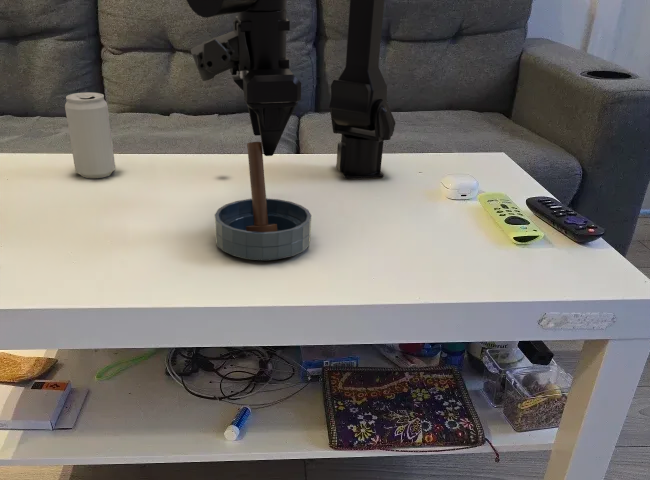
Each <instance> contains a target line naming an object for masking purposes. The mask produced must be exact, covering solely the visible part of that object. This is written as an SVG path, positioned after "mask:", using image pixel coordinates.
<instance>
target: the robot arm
mask: <svg viewBox="0 0 650 480" xmlns="http://www.w3.org/2000/svg"><path fill="white" fill-rule="evenodd" d="M186 2H187V4H188V7H189V8H190V9H191V10H192V12H194V13H195V14H196V15H197V16H199V17H202V18H204V19H205V18H207V19H208V18H214V17H219V16H225V15H233V14H237V15H235V19H233V22H232V24H233V27H232V28H233V30H232V31H229V32H226V33H224V34H221V35H219V36H216V37H212V39H210V40H209V39H208V40H207V41H206V40H204V41H202V43H200V44H198V45H196V46H193V47H192V48H191V49H190V53H191V55H192V58H193V61H194V63H195V65H196V69H197V71H198V74H199V76H200V78H201V80H202V82H207V81H209V80H212V79H214V78H215V76H217V75H219V74H222V73H224V72H227V71H228V70H229V72H230V74H231V75H232V76H231V78H232V80H233V82H234V84H236V85H237V86H238V87H239V88H240V89H241V91H243V97H244V98H243V100H244V102H245V104H246V105H247V110H248V114H249V120H250V123H251V129H252V133H253V135H254V136H256V137H258V136H260V142H262V153H263V156H265V157H273V156H274V154H275V152H276V150H277V148H278V145H279V143H280V140H281V138H282V136H283V134H284V132H285V130H286V126H287V125H288V122H289V120H290V119H291V116H292V114H293V113H294V110H295V108H296V107H297V106H298V103H299V101H302V82H301V81H300V80H299V79H298V78H297V77H296V75H295V74H294V72H292V71H291V70H290V59H289V58H288V57H287V31H290V29H291V28H290V27H291V26H290V25H291V21H290V20H289V19H288V18H287V13H288V11H287V10H288V9H287V7H288V5H287V4H288V3H287V2H288V1H287V0H186ZM384 10H385V0H349V8H348V25H347V39H346V55H345V64H344V65H345V66H344V69H343V70H342V71H341V73H340V74H339V77H338V78H337V79H333V80H332V82H331V85H330V102H329V106H328V108H329V112H330V118H331V119H330V120H331V128H332V134H336V135H337V134H340V135H341V137H340V142H338V143H337V148H336V149H337V151H336V166H335V168H336V169H337V170H338V172H339V173H340V174H341V176H342V177H343V179H345V180H357V179H358V180H360V179H380V178H381V179H382V178H384V176H385V174H384V173H383V172H382V171H381V169H382V161H383V151H384V141H390V140H391V139H392V137H393V135H394V133H395V127H396V121H395V118H394V116H393V113H392V111H391V108H390V106H389V104H388V85H387V83H386V81H385V78H384V75H383V74H382V71H381V69H380V67H379V66H380V54H381V53H380V52H381V43H382V42H381V41H382V31H383V20H384Z"/></svg>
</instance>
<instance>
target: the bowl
mask: <svg viewBox="0 0 650 480" xmlns="http://www.w3.org/2000/svg"><path fill="white" fill-rule="evenodd" d="M266 202H267V214H268V224H277V231H276V232H252V231H246V226H252V225H254V217H253V205H252V198H246V199H240V200H235V201H232V202H229V203H226V204H224V205H222V206H221V207H219V208H218V209H217V210H216V212H215V213H214V233H215V242H216V246H217V247H218V248H219V249H220V250H221V251H223V252H224V253H227V254H229V255H231V256H233V257H236V258H237V257H238V258H241V259H245V260H250V261H261V262H262V261H263V262H264V261H265V262H266V261H276V260H282V259H286V258H290V257H294V256H297V255H298V254H301V253H302V252H304V251H305V250H306V249H307V248H309V246H310V243H311V235H312V234H311V233H312V232H311V230H312V214H311V212H310V210H309V209H307V208H306V207H305V206H303V205H301V204H299V203H297V202H296V203H295V202H294V201H291V200H290V201H289V200H285V199H280V198H268V197H266Z"/></svg>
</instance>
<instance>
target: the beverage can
mask: <svg viewBox="0 0 650 480" xmlns="http://www.w3.org/2000/svg"><path fill="white" fill-rule="evenodd" d="M65 100H66V102H65V104H64V109H65V116H66V121H67V128H68V134H69V141H70V148H71V153H72V158H73V165H74V170H75V172H76V174H78V175H80V176H81V177H83V178H86V179H102V178H106V177H109V176H110V175H112V173H113V172H115V170H116V161H115V154H114V153H115V152H114V145H113V138H112V130H111V122H110V116H109V115H110V114H109V113H110V112H109V108H108V107H109V106H108V102H107V101H106V100H105V94H103V93H100V92H86V91H85V92H75V93H70V94H68V95H66V96H65Z"/></svg>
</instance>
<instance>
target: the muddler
mask: <svg viewBox="0 0 650 480" xmlns="http://www.w3.org/2000/svg"><path fill="white" fill-rule="evenodd" d="M246 146H247V147H246V148H247V157H248V158H247V159H248V171H249V181H250V192H251V199H252V205H253V217H254V225H252V226H246V231H252V232H276V231H277V224H268V214H267V202H266V198H267V191H266V179H265V178H266V177H265V167H264V152H263V147H262V141H251V142H247V143H246Z"/></svg>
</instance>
